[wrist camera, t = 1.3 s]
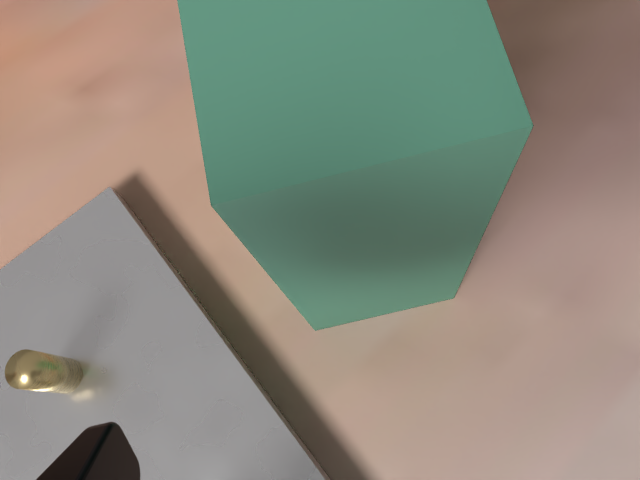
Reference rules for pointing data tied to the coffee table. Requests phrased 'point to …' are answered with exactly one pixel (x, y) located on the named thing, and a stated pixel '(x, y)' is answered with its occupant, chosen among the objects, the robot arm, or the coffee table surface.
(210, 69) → the green block
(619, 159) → the coffee table surface
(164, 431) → the chassis
